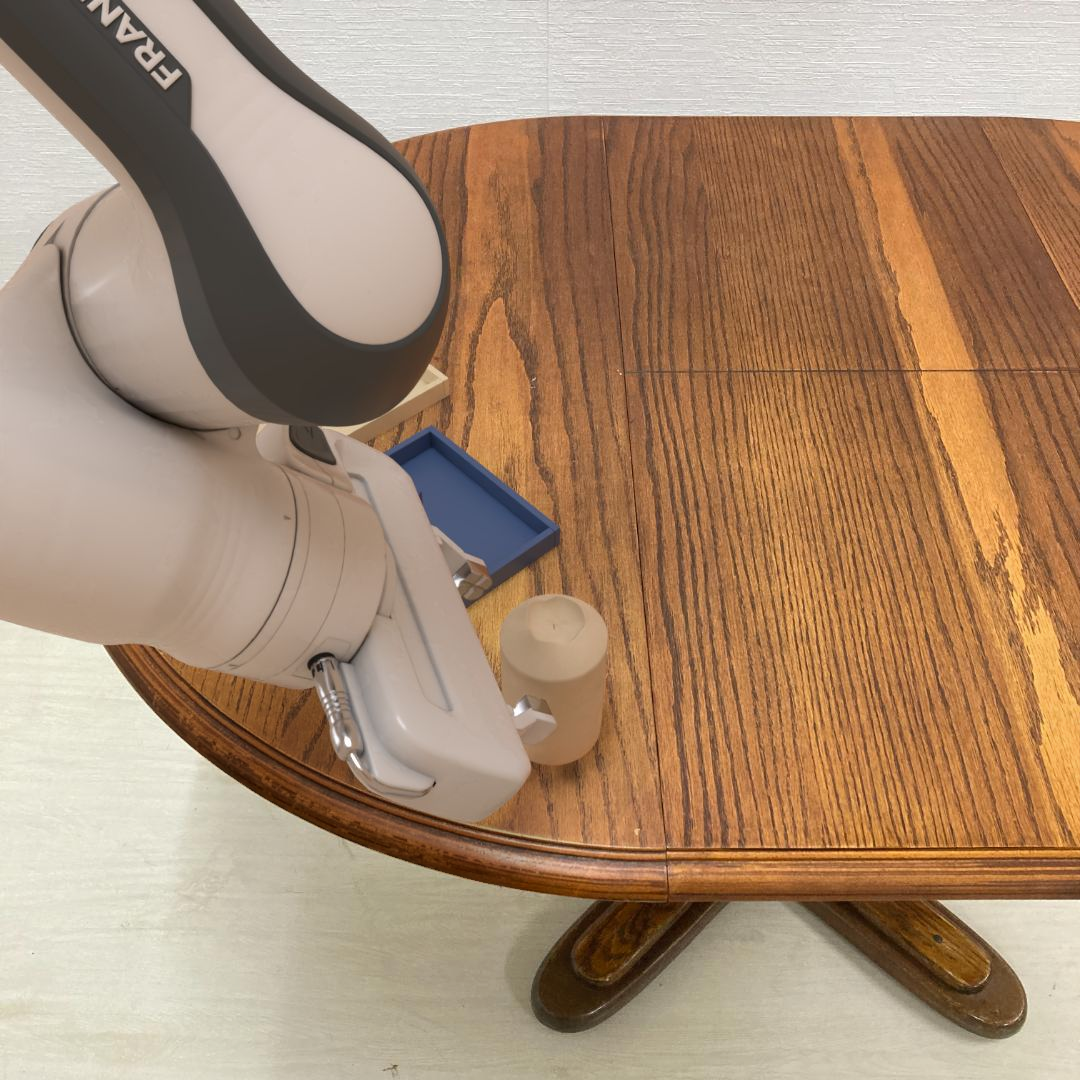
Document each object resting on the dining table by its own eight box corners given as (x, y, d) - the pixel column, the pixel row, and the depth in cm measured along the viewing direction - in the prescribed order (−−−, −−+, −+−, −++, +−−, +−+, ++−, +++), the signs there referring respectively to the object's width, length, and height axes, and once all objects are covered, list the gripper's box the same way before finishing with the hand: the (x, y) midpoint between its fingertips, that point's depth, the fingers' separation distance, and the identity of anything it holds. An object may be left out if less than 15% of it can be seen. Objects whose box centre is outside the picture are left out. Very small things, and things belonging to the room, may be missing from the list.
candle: (555, 788, 60) (558, 683, 52) (483, 729, 62) (475, 620, 55) (621, 724, 63) (632, 615, 55) (548, 669, 65) (550, 558, 58)
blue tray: (372, 677, 65) (368, 657, 63) (250, 553, 71) (244, 532, 70) (560, 548, 71) (560, 527, 70) (433, 445, 78) (431, 424, 76)
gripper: (402, 735, 39) (636, 785, 49) (282, 380, 52) (487, 475, 61) (298, 834, 42) (541, 863, 51) (207, 471, 54) (416, 549, 64)
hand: (510, 649), depth 56 cm, fingers open, 8 cm apart
